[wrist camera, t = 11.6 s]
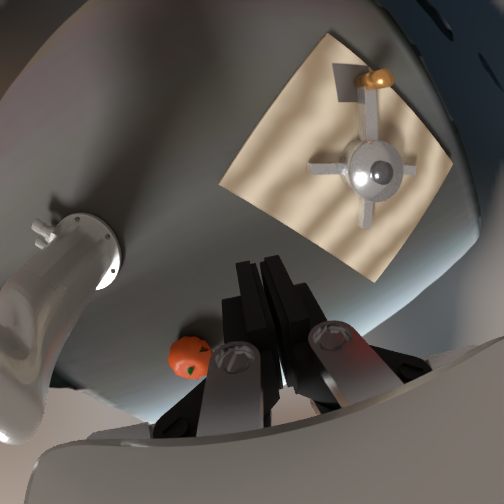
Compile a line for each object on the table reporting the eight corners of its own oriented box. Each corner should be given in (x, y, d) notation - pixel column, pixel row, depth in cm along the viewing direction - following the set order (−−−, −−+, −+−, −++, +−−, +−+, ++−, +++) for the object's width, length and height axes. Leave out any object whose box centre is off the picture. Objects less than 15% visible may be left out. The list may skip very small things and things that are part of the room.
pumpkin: (182, 363, 48) (180, 393, 41) (163, 334, 44) (157, 364, 38) (219, 354, 48) (221, 385, 41) (202, 323, 44) (201, 354, 38)
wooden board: (218, 181, 35) (218, 184, 33) (322, 37, 28) (328, 32, 26) (369, 277, 45) (374, 283, 43) (445, 161, 37) (453, 164, 35)
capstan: (405, 221, 38) (428, 235, 33) (307, 229, 37) (323, 247, 31) (408, 85, 29) (434, 82, 24) (302, 69, 28) (318, 57, 22)
